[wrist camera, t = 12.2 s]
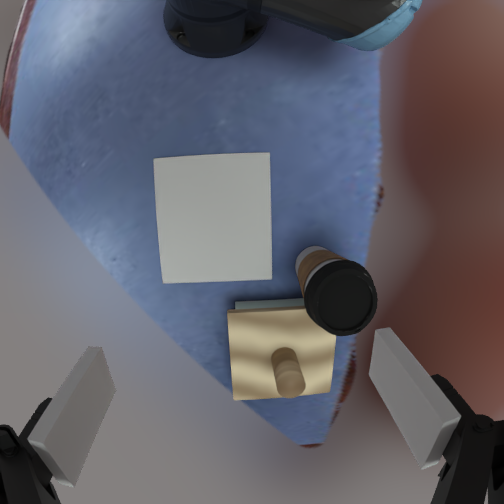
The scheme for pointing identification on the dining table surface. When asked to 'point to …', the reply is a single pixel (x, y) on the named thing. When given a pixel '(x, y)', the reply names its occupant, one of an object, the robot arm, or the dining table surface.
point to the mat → (214, 217)
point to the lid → (278, 353)
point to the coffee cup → (335, 291)
